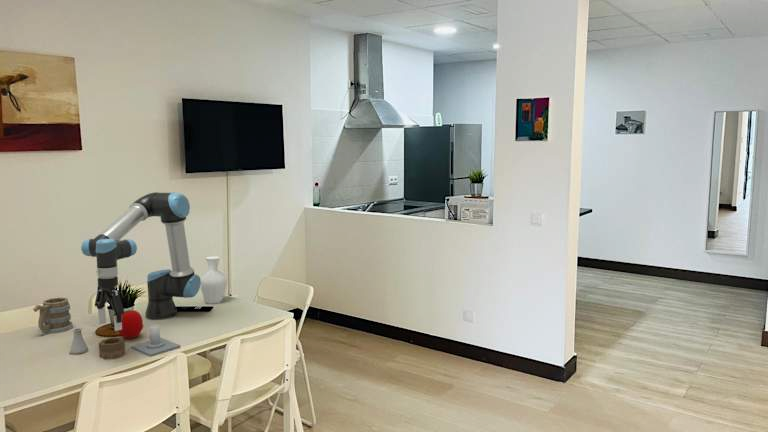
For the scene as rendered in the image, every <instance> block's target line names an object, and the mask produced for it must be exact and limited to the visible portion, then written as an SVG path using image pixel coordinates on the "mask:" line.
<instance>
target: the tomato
mask: <svg viewBox="0 0 768 432" xmlns="http://www.w3.org/2000/svg"><path fill="white" fill-rule="evenodd" d="M124 312H125V313H124V314H121V317H122V330H118V331H117V332H118V333H119V334H120V336H121V337H123V339H134V338H137V337H138V336H139V335H140V334H141V331H142V329H143V325H144V324H143V323H144V321H143V317H142V315H141V314H140V312H138V311H137V310H135V309H134V310H130V309H128V310H126V311H125V310H124Z"/></svg>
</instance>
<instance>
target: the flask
mask: <svg viewBox="0 0 768 432" xmlns="http://www.w3.org/2000/svg"><path fill="white" fill-rule="evenodd" d="M72 331H73V339H72V343H71V346H70V349H69V353H68V354H70V355H82V354H84V353H86V352H89V347H88V346H87V344H86V341H85V340H84V337H83V335H82V334H83V333H82V328H81V327H75V328H73V330H72Z"/></svg>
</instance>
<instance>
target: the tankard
mask: <svg viewBox="0 0 768 432" xmlns="http://www.w3.org/2000/svg"><path fill="white" fill-rule="evenodd" d="M32 310H33V312H38V311H39V317H38V322H37V323H38V328H39V330H40V331H41V332H42V333H45V334H58V333H64V332H67V331H69V330H72V329H74V324H73V321H70V320H72V319H71V318H72V315H71V313H70V310H71V305H70V302H69V299H68V298H67V297H53V298H49V299H48V298H47V299H45V300H43V301H42V305H39V304H36V305H35V306H34V307H33V309H32Z"/></svg>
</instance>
